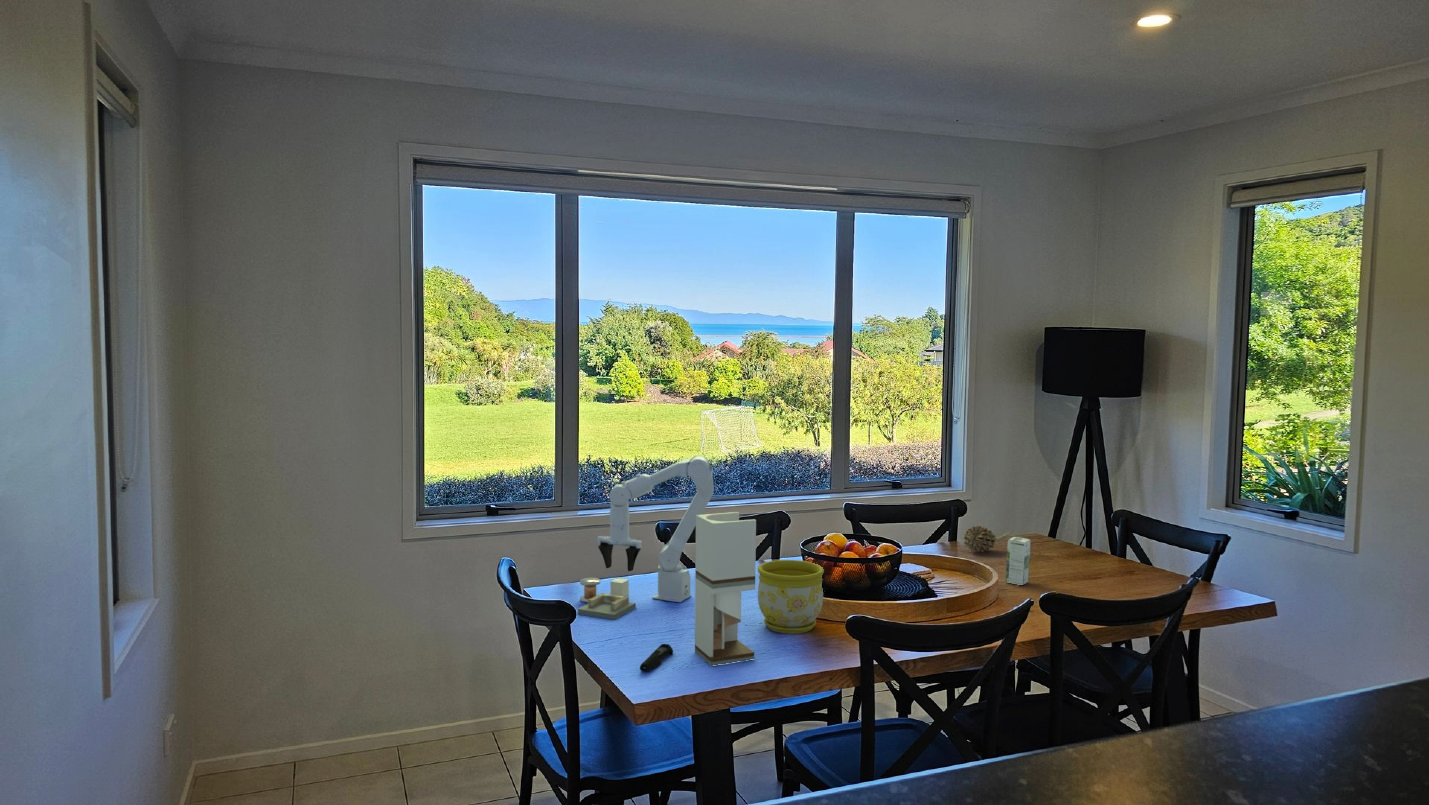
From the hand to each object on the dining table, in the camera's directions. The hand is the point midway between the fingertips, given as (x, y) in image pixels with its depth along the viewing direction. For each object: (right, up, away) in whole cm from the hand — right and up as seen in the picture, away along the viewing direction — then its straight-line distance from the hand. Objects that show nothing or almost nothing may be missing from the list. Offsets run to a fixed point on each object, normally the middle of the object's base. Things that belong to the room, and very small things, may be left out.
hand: (619, 569), depth 277 cm
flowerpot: (+49, -11, -26) cm, 57 cm away
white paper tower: (+31, -13, -49) cm, 60 cm away
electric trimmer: (+15, -14, -54) cm, 57 cm away
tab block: (0, -9, +1) cm, 9 cm away
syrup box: (+127, -8, +19) cm, 129 cm away
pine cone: (+130, -5, +63) cm, 144 cm away
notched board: (-2, -10, -14) cm, 17 cm away
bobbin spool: (-8, -9, -3) cm, 12 cm away
